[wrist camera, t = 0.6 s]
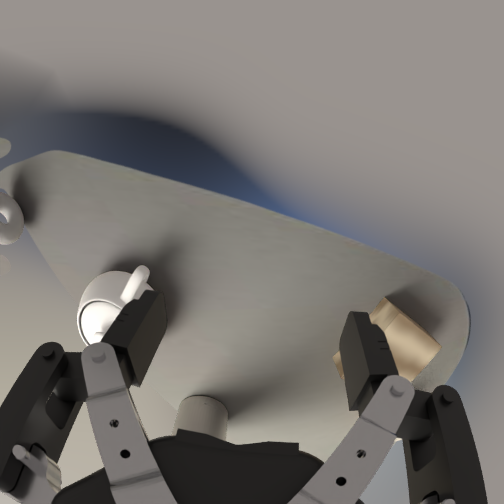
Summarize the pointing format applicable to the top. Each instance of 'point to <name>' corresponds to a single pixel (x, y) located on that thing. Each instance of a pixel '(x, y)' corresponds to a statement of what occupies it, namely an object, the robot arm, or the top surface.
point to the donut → (10, 220)
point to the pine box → (401, 340)
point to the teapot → (108, 301)
